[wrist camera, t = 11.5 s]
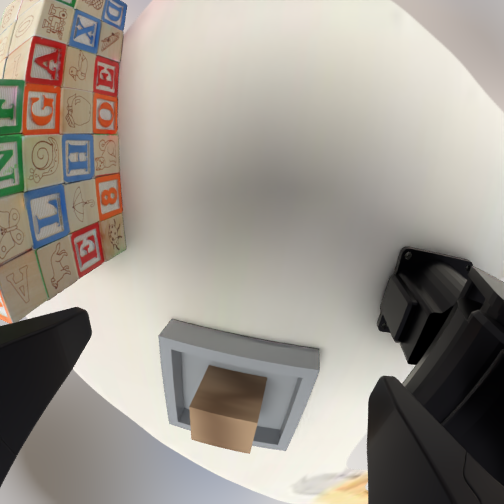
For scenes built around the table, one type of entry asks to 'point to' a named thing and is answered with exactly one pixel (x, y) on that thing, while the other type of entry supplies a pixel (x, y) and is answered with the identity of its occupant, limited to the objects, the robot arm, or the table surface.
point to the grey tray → (242, 360)
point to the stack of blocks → (57, 147)
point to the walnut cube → (227, 408)
